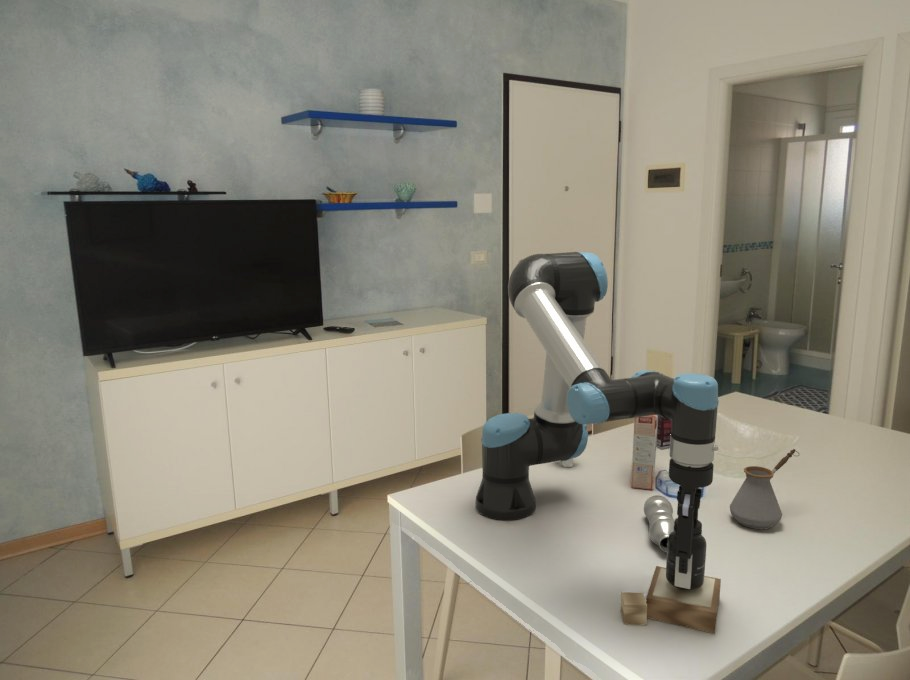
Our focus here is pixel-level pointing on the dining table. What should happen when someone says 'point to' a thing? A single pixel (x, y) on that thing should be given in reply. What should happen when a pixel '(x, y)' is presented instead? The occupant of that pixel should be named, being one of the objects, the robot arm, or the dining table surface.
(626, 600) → the beech cube
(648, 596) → the base
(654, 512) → the plastic bottle
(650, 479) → the cracker box
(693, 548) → the supplement bottle
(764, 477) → the coffee pot
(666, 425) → the supplement box
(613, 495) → the dining table surface
